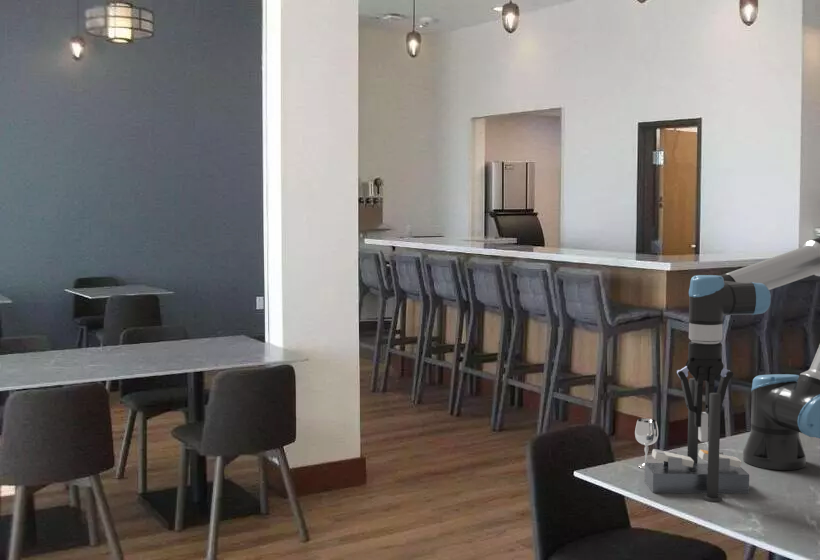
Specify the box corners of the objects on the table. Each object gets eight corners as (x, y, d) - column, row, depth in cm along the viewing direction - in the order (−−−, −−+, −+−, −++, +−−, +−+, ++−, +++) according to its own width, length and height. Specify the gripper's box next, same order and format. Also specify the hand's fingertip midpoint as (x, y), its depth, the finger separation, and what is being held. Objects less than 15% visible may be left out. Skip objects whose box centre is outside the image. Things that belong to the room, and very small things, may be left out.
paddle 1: (688, 462, 216) (690, 456, 216) (692, 467, 213) (694, 460, 212) (651, 454, 217) (652, 448, 217) (655, 459, 213) (656, 452, 213)
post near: (718, 496, 208) (721, 392, 206) (724, 502, 204) (726, 395, 202) (701, 496, 208) (703, 391, 206) (706, 501, 204) (708, 395, 202)
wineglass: (658, 470, 229) (659, 423, 228) (634, 469, 230) (635, 422, 229) (656, 464, 234) (657, 418, 233) (634, 462, 236) (634, 417, 235)
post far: (698, 474, 226) (700, 377, 224) (702, 478, 222) (704, 380, 220) (681, 473, 226) (683, 377, 224) (685, 478, 222) (688, 380, 220)
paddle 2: (735, 463, 216) (736, 456, 216) (740, 467, 212) (742, 461, 212) (697, 455, 216) (699, 448, 216) (702, 459, 212) (704, 453, 212)
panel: (736, 482, 219) (737, 450, 218) (748, 493, 210) (749, 461, 209) (644, 481, 220) (645, 449, 219) (652, 492, 211) (653, 460, 210)
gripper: (728, 339, 216) (726, 436, 217) (673, 338, 216) (671, 436, 218) (738, 343, 208) (735, 444, 210) (681, 343, 209) (678, 444, 210)
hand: (702, 440), depth 214 cm, fingers closed
